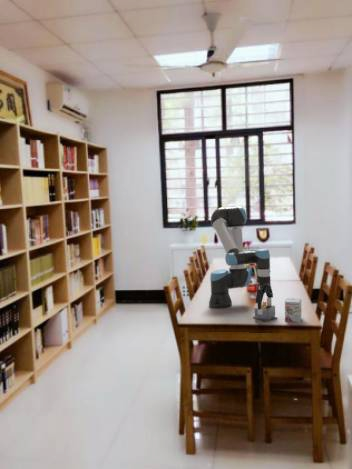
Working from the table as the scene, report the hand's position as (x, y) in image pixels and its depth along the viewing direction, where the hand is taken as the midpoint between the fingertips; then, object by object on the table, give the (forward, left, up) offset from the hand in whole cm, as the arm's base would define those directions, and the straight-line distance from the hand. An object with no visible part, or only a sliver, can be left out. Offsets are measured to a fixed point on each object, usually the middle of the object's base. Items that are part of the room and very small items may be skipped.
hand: (264, 311), depth 257 cm
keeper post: (0, 0, -4) cm, 4 cm away
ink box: (+12, +11, -4) cm, 17 cm away
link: (0, 0, -3) cm, 3 cm away
